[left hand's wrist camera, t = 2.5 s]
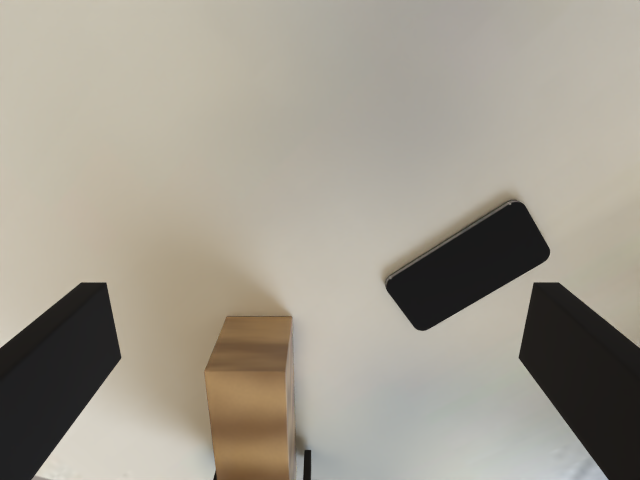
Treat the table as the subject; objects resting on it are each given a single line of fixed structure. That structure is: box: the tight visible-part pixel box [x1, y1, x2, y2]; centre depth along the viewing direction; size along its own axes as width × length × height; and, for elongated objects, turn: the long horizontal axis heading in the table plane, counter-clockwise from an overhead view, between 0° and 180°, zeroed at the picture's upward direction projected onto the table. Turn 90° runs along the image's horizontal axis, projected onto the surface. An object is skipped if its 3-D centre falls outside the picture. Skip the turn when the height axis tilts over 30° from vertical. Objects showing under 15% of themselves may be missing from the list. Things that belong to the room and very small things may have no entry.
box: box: [204, 317, 296, 480], centre depth 42 cm, size 22×7×9 cm, turn 0°
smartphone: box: [385, 201, 550, 331], centre depth 40 cm, size 7×1×15 cm
